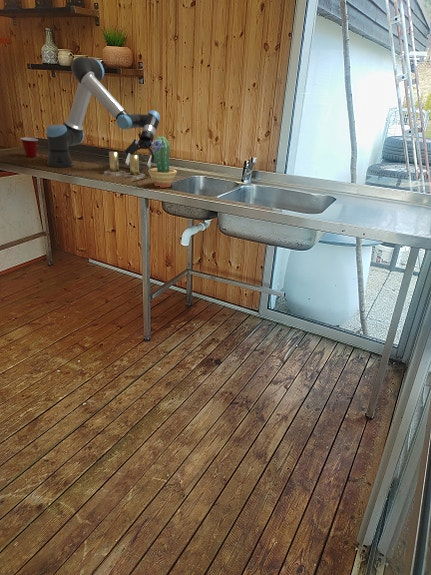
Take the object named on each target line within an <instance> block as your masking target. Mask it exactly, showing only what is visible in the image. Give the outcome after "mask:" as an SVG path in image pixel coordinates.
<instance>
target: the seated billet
mask: <svg viewBox="0 0 431 575" xmlns="http://www.w3.org/2000/svg"><path fill="white" fill-rule="evenodd" d="M108 159H109V162H108V163H109V170H110V172H114V173H117V172H119V170H120V165H119V152H118V151H108Z"/></svg>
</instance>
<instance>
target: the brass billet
mask: <svg viewBox="0 0 431 575" xmlns="http://www.w3.org/2000/svg"><path fill="white" fill-rule="evenodd" d="M129 173H130V175H133V176H138V175H139V173H140V157H139V154H135V153H133V154H130V162H129Z"/></svg>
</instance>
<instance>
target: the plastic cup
mask: <svg viewBox="0 0 431 575" xmlns="http://www.w3.org/2000/svg"><path fill="white" fill-rule="evenodd" d="M20 140H21V142H22V145H23V150H24V151H25V155H26V157H27V158H36V157H37V151H38V141H39V139H38V138H35V137H20Z"/></svg>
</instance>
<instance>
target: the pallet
mask: <svg viewBox="0 0 431 575" xmlns="http://www.w3.org/2000/svg"><path fill="white" fill-rule="evenodd" d="M100 175H102V176H106V177H112V178H120V179H125V180H132V183H136V182H140V181H143V180H144V181H145V180H147V179H149V176H148V175H146V174H145V173H140V172H139V175H138V176H133V175H130V172H126V171H125V170H121V169H119V172H117V173H114V172H110V169H108V170H103V173H102V174H100Z"/></svg>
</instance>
